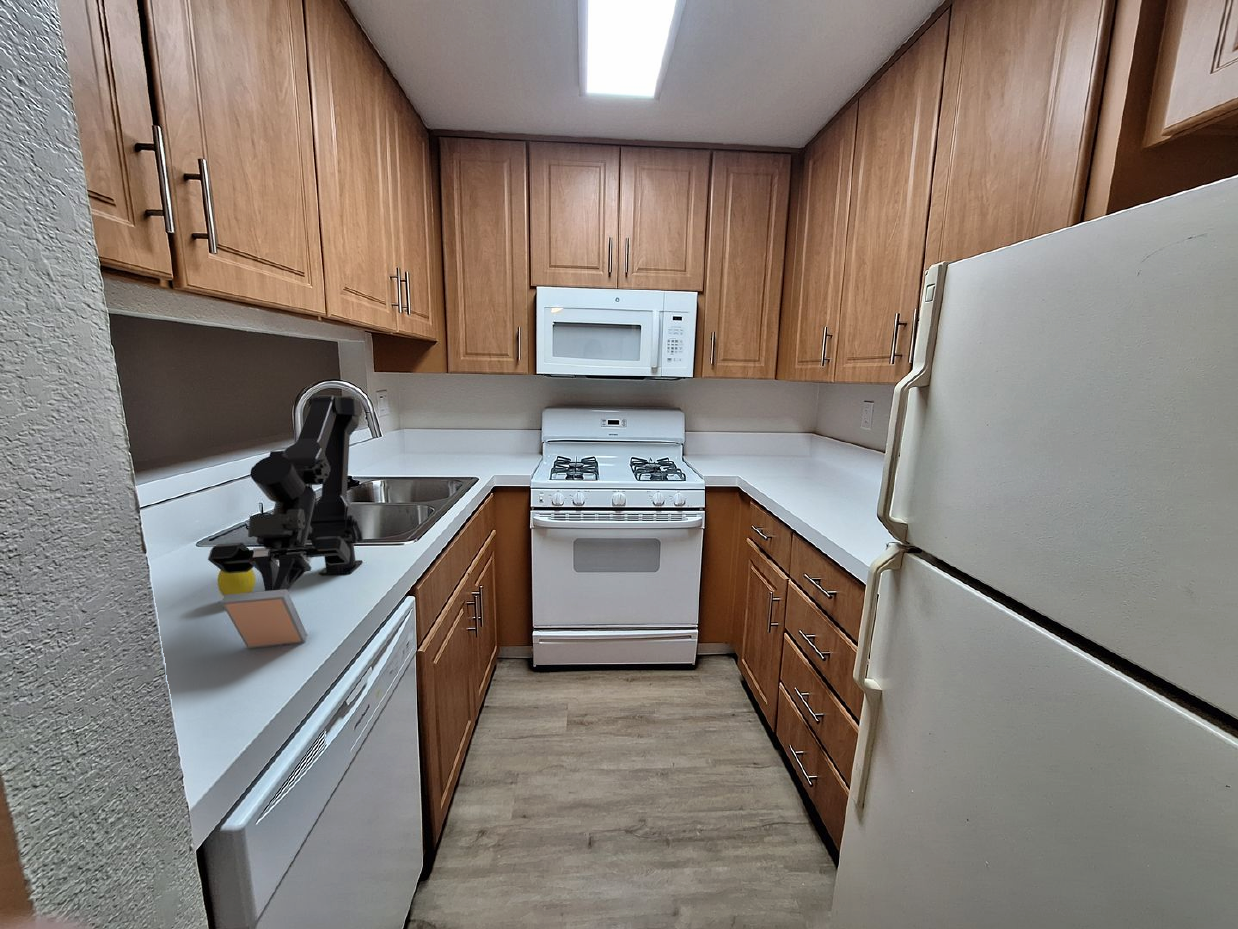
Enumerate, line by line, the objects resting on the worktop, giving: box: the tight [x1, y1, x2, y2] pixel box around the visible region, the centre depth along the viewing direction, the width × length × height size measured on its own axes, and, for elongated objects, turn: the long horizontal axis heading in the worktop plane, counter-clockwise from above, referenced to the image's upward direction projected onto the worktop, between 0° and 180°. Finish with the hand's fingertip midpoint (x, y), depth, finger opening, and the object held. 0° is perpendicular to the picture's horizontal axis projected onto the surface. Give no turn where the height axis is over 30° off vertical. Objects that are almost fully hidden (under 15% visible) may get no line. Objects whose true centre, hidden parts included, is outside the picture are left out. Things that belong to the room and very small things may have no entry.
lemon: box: [217, 568, 256, 597], centre depth 92 cm, size 6×6×8 cm
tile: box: [220, 589, 308, 649], centre depth 75 cm, size 2×8×11 cm, turn 104°
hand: (271, 605), depth 77 cm, fingers closed
